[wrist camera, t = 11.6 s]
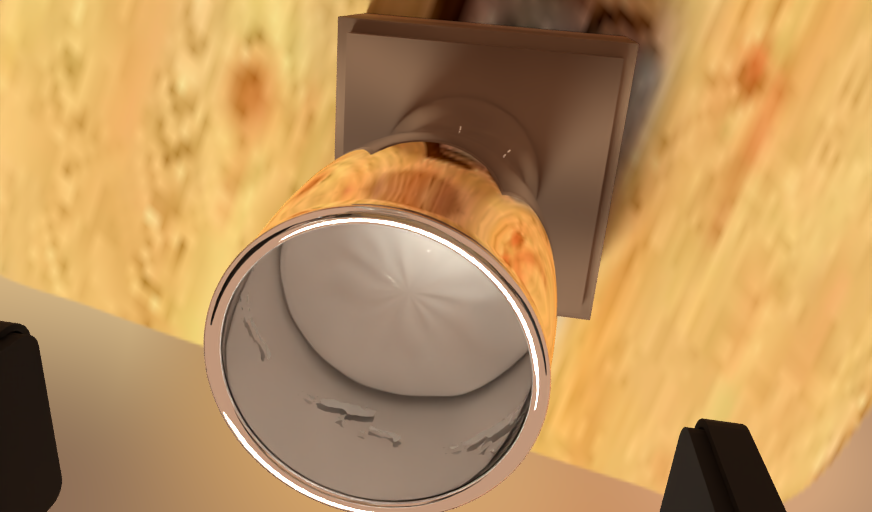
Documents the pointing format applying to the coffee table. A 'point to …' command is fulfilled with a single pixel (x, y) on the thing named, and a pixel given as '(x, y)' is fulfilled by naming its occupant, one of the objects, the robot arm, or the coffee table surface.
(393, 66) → the plinth
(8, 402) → the robot arm
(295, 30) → the coffee table surface
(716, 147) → the coffee table surface
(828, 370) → the coffee table surface
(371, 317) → the beer glass
